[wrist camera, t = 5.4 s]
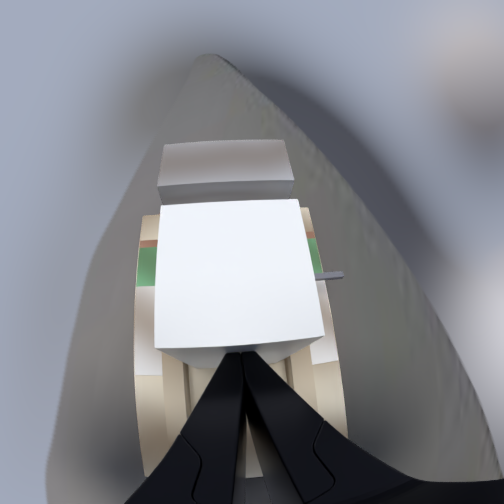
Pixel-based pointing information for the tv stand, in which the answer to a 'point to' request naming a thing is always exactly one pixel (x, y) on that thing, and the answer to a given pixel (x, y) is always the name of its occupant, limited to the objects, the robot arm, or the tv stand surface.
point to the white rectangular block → (235, 282)
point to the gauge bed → (145, 355)
